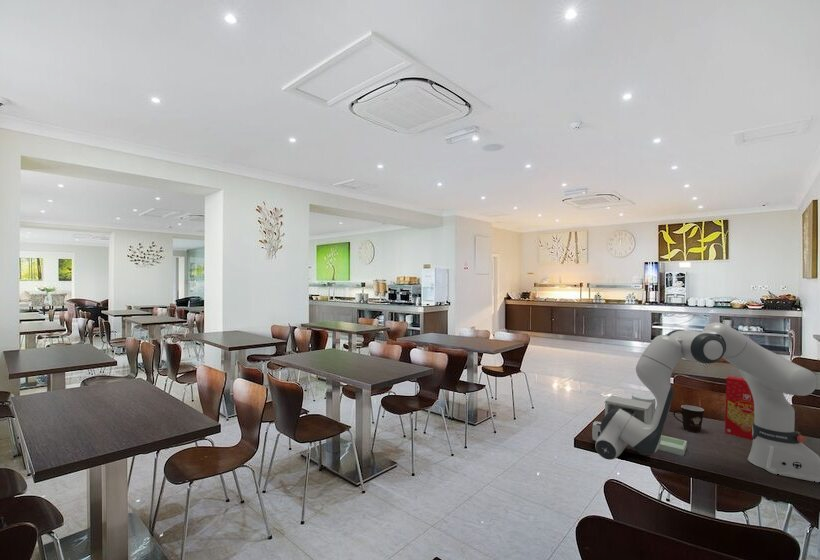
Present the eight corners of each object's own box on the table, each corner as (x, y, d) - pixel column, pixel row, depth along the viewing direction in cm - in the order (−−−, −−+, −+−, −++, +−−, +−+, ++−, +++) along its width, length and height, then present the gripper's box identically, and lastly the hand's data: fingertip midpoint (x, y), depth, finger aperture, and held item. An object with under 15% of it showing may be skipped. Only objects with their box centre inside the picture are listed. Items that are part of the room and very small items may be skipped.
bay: (651, 437, 173) (652, 402, 173) (646, 445, 165) (647, 408, 165) (610, 428, 183) (611, 395, 183) (604, 435, 175) (605, 400, 175)
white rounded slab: (636, 422, 192) (636, 392, 192) (658, 428, 184) (659, 396, 184) (627, 427, 186) (628, 395, 186) (649, 433, 178) (650, 400, 178)
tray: (686, 447, 164) (686, 440, 164) (683, 456, 155) (683, 449, 155) (653, 439, 172) (654, 433, 172) (649, 447, 163) (649, 441, 163)
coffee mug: (702, 429, 185) (703, 407, 185) (704, 435, 178) (704, 412, 178) (672, 423, 192) (673, 402, 192) (672, 429, 184) (673, 407, 184)
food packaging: (725, 433, 181) (726, 377, 181) (727, 430, 184) (729, 376, 184) (768, 444, 170) (770, 384, 169) (770, 441, 173) (772, 382, 173)
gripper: (646, 436, 150) (652, 426, 161) (588, 423, 163) (598, 414, 174) (646, 453, 150) (652, 442, 161) (588, 438, 163) (597, 429, 174)
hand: (623, 427), depth 167 cm, fingers open, 8 cm apart
